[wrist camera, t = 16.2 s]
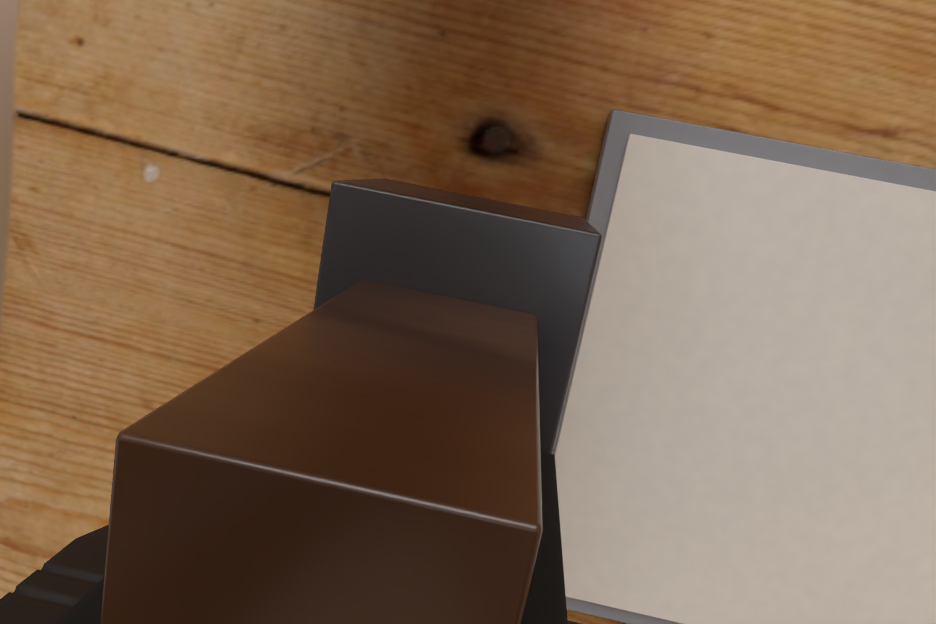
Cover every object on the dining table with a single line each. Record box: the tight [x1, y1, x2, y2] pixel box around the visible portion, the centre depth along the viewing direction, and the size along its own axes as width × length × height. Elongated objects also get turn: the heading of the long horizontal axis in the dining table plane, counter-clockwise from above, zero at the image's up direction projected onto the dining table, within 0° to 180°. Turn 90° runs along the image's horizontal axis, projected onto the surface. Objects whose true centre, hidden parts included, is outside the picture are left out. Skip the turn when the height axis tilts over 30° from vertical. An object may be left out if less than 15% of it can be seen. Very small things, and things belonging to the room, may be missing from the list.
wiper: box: [101, 179, 602, 624], centre depth 11 cm, size 4×10×11 cm, turn 169°
